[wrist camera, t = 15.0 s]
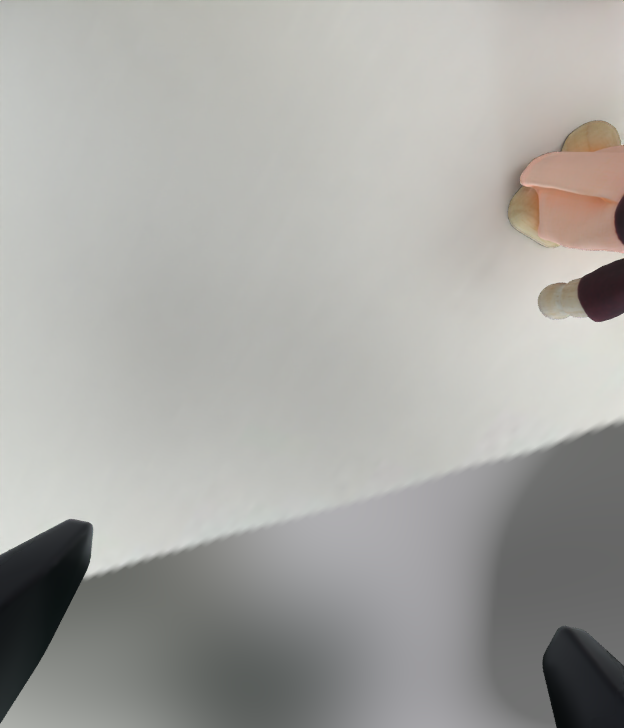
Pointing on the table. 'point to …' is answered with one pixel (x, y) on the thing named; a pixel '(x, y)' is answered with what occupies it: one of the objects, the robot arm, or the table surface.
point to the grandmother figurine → (578, 217)
